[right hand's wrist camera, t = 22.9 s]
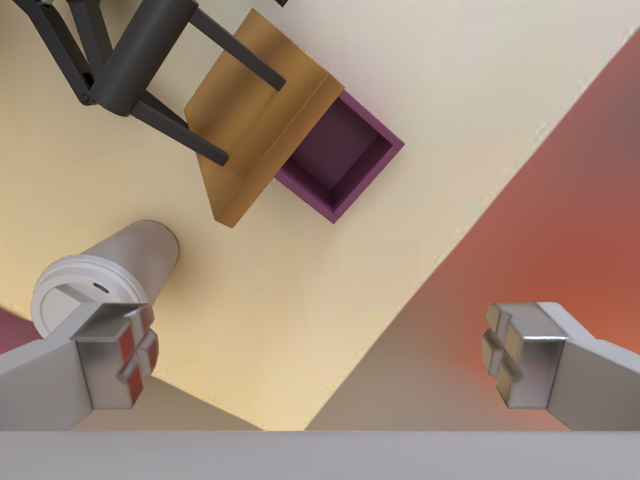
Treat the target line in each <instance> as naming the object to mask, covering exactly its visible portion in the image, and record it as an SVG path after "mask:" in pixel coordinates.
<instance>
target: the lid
mask: <svg viewBox="0 0 640 480" xmlns="http://www.w3.org/2000/svg"><path fill="white" fill-rule="evenodd" d="M198 6H199V4H198V3H197V2H196V1H195V0H143V1H142V3H141V4H140V6H139V8H138V10H137V11H136V13H135V15H134V16H133V18H132V20H131V21H130V23H129V25H128V27H127V28H126V30H125V32H124V33H123V35H122V37H121V38H120V40H119V42H118V44H117V45H116V47H115V49H114V50H113V52H112V54H111V55H110V57H109V59H108V61H107V62H106V64H105V66H104V67H103V69H102V71H101V72H100V74H99V76H98V77H97V79H96V81H95V83H94V84H93V86H92V88H91V89H90V91H89V93H90V96H91V97H92V98H93V99H94V100H95V101H96V102H97V103H98V104H99V105H101V106H102V107H104V108H105V109H107V110H108V111H110V112H112V113H114V114H117V115H119V116H123V117H127V116H129V115H130V114H131V115H132V116H134V117H136V118H138V119H139V120H141V121H143V122H145V123H146V124H148V125H150V126H152V127H153V128H155V129H157V130H159V131H160V132H162V133H164V134H166V135H167V136H169V137H171V138H173V139H174V140H176V141H178V142H180V143H181V144H183V145H185V146H187V147H188V148H190V149H192V150H194V151H195V152H196V155H197V159H198V162H199V166H200V169H201V173H202V177H203V180H204V184H205V187H206V191H207V194H208V198H209V202H210V205H211V209H212V212H213V216H214V219H215V221H218V222H220V223H222V224H224V225H226V226H228V227H230V228H233V227H234V226H235V225H236V223H237V222H238V221H239V220H240V218H241V217H242V216H243V215H244V213H245V212H246V211H247V210H248V208H249V207H250V206H251V205H252V203H253V202H254V201H255V200H256V198H257V197H258V196H259V195H260V193H261V192H262V191H263V190H264V188H265V187H266V186H267V185H268V183H269V182H270V181H271V180H272V178H273V177H274V176H275V175H276V173H277V172H278V171H279V170H280V168H281V167H282V166H283V165H284V163H285V162H286V161H287V160H288V158H289V157H290V156H291V155H292V153H293V152H294V151H295V150H296V148H297V147H298V146H299V145H300V143H301V142H302V141H303V140H304V138H305V137H306V136H307V135H308V133H309V132H310V131H311V130H312V128H313V127H314V126H315V125H316V123H317V122H318V121H319V120H320V118H321V117H322V116H323V115H324V113H325V112H326V111H327V110H328V108H329V107H330V106H331V105H332V103H333V102H334V101H335V100H336V98H337V97H338V96H339V95H340V93H341V92H342V91H343V90H344V88H345V87H344V86H343V85H342V84H341V83H340V82H339V81H338V80H337V79H336V78H334V77H333V76H332V75H331V74H330V73H329V72H328V71H327V70H325V69H324V68H323V67H322V66H321V65H320V64H318V63H317V62H316V61H315V60H314V59H312V58H311V57H310V56H309V55H308V54H307V53H305V52H304V51H303V50H302V49H301V48H300V47H298V46H297V45H296V44H295V43H294V42H293V41H291V40H290V39H289V38H288V37H287V36H285V35H284V34H283V33H282V32H281V31H280V30H278V29H277V28H276V27H275V26H274V25H273V24H271V23H270V22H269V21H268V20H267V19H265V18H264V17H263V16H262V15H261V14H260V13H258V12H257V11H256V10H255V9H254V8H252V9H251V11H250V12H249V14H248V15H247V17H246V18H245V20H244V21H243V23H242V24H241V26H240V27H239V28H238V30H237V31H236V33H235V34H234V36H233V35H231V34H230V33H229V32H228V31H226V30H225V29H224V28H223V27H222V26H220V25H219V24H218V23H217V22H215V21H214V20H213V19H212V18H211V17H209V16H208V15H207V14H206V13H204V12H203V11H202V10H201V9H200V8H198ZM188 22H190V23H191V24H193V25H194V26H195V27H196V28H198V29H199V30H200V31H202V32H203V33H204V34H205V35H207V36H208V37H209V38H210V39H212V40H213V41H214V42H216V43H217V44H218V45H219V46H221V47H222V48H223V49H224V51H223V52H222V54H221V55H220V57H219V58H218V59H217V61H216V62H215V64H214V65H213V67H212V68H211V70H210V71H209V73H208V74H207V76H206V77H205V79H204V80H203V82H202V83H201V85H200V86H199V88H198V89H197V90H196V92H195V93H194V95H193V96H192V98H191V99H190V101H189V102H188V104H187V105H186V107H185V108H184V112H185V116H186V119H187V123H188V127H189V130H188V129H187V128H185V127H183V126H182V125H180V124H178V123H177V122H175V121H173V120H172V119H170V118H168V117H167V116H165V115H164V114H162V113H160V112H159V111H157V110H155V109H154V108H152V107H150V106H149V105H147V104H145V103H144V102H142V101H140V100H139V99H140V97H141V96H142V94H143V93H144V91H145V90H146V88H147V86H148V85H149V83H150V82H151V80H152V78H153V77H154V75H155V74H156V72H157V71H158V69H159V67H160V66H161V64H162V63H163V61H164V60H165V58H166V56H167V55H168V53H169V52H170V50H171V49H172V47H173V45H174V44H175V42H176V41H177V39H178V38H179V36H180V34H181V33H182V31H183V30H184V28H185V27H186V25H187V23H188Z"/></svg>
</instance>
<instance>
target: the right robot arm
mask: <svg viewBox="0 0 640 480" xmlns="http://www.w3.org/2000/svg"><path fill="white" fill-rule="evenodd" d="M153 321H154V314H153V310H152V307H151V306H150V304H149V303H120V302H107V303H106V302H86V303H81V304H80V305H79V306H78V307H77V308H76V309H75V310H74V311H73V312H72V313H71V314H70V315H69V316H68V317H67V318H66V319H65V320H64V321H63V322H61V323H60V324H59V325H58V326H57V327H56V328H55V329H54V330H53V331H52V332H51V333H50V334H49V335H48V336H47V337H46V338H45V339H44V340H35V341H32V342H30V343H27V344H25V345H23V346H20V347H18V348H16V349H13V350H11V351H8V352H6V353H4V354H1V355H0V480H640V355H639V354H636V353H634V352H632V351H629V350H627V349H624V348H622V347H620V346H617V345H615V344H612V343H610V342H608V341H605V340H596V339H595V338H594V337H593V336H592V335H591V334H590V333H589V332H588V331H587V330H586V329H585V328H584V327H583V326H582V325H581V324H580V323H579V322H578V321H576V320H575V319H574V318H573V317H572V316H571V315H570V314H569V313H568V312H567V311H566V310H565V309H564V308H563V307H562V306H561V305H560V304H558V303H555V302H529V303H494V304H490V305H489V307H488V309H487V314H486V321H487V322H488V324H489V325H490V328H489V329H488V330H487V331H486V332H485V333H484V334H483V337H482V345H481V350H482V359H483V363H484V366H485V368H486V370H487V372H488V374H489V375H491V376H493V377H494V378H496V379H497V386H496V388H497V390H498V392H499V393H500V395H501V397H502V399H503V400H504V402H505V404H506V405H507V407H508V409H538V410H547V412H548V413H550V414H551V415H552V416H554V417H555V418H556V419H558V420H559V421H560V422H562V423H563V424H564V425H565V426H567V427H568V428H569V429H571V430H572V431H68V430H69V429H71V428H72V427H73V426H75V425H76V424H77V423H79V422H80V421H81V420H83V419H84V418H85V417H87V416H88V415H89V414H90V413H92V412H93V410H103V409H132V407H133V406H134V404H135V402H136V400H137V399H138V397H139V395H140V393H141V392H142V390H143V388H144V386H143V379H144V378H146V377H148V376H149V375H151V374H152V372H153V370H154V368H155V366H156V363H157V358H158V354H159V343H158V337H157V334H156V333H155V332H154V331H153V330H152V329H151V328H150V325H151V324H152V322H153Z"/></svg>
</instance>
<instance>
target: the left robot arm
mask: <svg viewBox="0 0 640 480" xmlns="http://www.w3.org/2000/svg"><path fill="white" fill-rule="evenodd" d="M13 1H14V2H15V3H16V4H17V5H18V6H19V7H20V8H21V9H22V10H23V11H24V12H25V13H26V14H27V15H28V16H29V17H30V19H31V21H32V22H33V24H34V26H35V27H36V29H37V31H38V32H39V34H40V36H41V37H42V39H43V41H44V42H45V44H46V46H47V47H48V49H49V51H50V52H51V54H52V56H53V58H54V59H55V61H56V63H57V64H58V66H59V68H60V69H61V71H62V73H63V74H64V76H65V78H66V79H67V81H68V83H69V84H70V86H71V88H72V89H73V91H74V93H75V94H76V96H77V98H78V99H79V101H80V102H81V103H82V104H83V105H86V106H89V105H96V104H98V103H97V102H96V101H95V100H94V99H93V98H92V97H91V96H90V93H89V91H90V89H91V88H92V86H93V84H94V83H95V81H96V79H97V77H98V76H99V74H100V72H101V71H102V69H103V67H104V66H105V64H106V62H107V61H108V59H109V57H110V55H111V54H112V52H113V49H112V46H111V42H110V39H109V36H108V33H107V30H106V26H105V23H104V20H103V17H102V13H101V10H100V7H99V4H100V0H66V1H67V2H68V4H69V6H70V9H71V12H72V15H73V18H74V21H75V24H76V27H77V30H78V33H79V36H80V39H81V42H82V45H83V48H84V51H85V54H86V57H87V60H88V62H87V61H86V59H85V57H84V55H83V54H82V52H81V50H80V48H79V47H78V45H77V43H76V41H75V40H74V38H73V36H72V34H71V33H70V31H69V29H68V27H67V26H66V24H65V22H64V20H63V19H62V17H61V16H60V14H59V13H58V11H57V10H56V9H55V7H54V6H53V5H52V4H51V3H52V2H53V0H13ZM275 1H276V2H277V3H278V4H279V5H281V6H282V7H283V6H284V5H285V4H286V2H287V1H288V0H275ZM88 63H89V64H88ZM139 100H140V101H142V102H144V103H145V104H147V105H149V106H150V107H152V108H154V109H155V110H157V111H159V112H160V113H162V114H164V115H165V116H167V117H168V118H170V119H172V120H173V121H175V122H177V123H178V124H180V125H182V126H183V127H185V128H187V129H188V130H189V127H188V124H187V123H186V122H185V121H184V120H183V119H181V118H180V117H179V116H178V115H176V114H175V113H174V112H173V111H171V110H170V109H169V108H168V107H166V106H165V105H164V104H163V103H162V102H160V101H159V100H158V99H157V98H155V97H154V96H153V95H152V94H150V93H149V92H148V91H147V90H145V91H144V93H143V94H142V96H141V97H140V99H139ZM135 118H136V117H135ZM137 119H138V118H137Z"/></svg>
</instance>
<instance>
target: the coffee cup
mask: <svg viewBox="0 0 640 480" xmlns="http://www.w3.org/2000/svg"><path fill="white" fill-rule="evenodd" d="M178 254H179V248H178V243H177V240H176V238H175V237H174V235H173V234H172V233H171V231H170V230H168V229H167V228H166V227H165V226H163V225H161V224H159V223H157V222H153V221H139V222H136V223H133V224H131V225H130V226H128V227H126V228H124V229H123V230H121V231H119V232H117V233H116V234H114V235H112V236H110V237H109V238H107V239H105V240H103V241H102V242H100V243H98V244H96V245H95V246H93V247H91V248H89V249H88V250H86V251H84V252H82V253H80V254H79V255H71V256H67V257H63V258H61V259H58V260H56V261H55V262H53V263H52V264H50V265H49V266H48V267H47V268H46V269H45V270H44V271H43V273H42V274H41V276H40V277H39V279H38V281H37V283H36V285H35V288H34V292H33V298H32V301H31V316H32V320H33V322H34V325H35V327H36V329H37V330H38V332H39V333H40V334H41V336H42V337H43V338H44V339H45V338H46V337H47V336H48V335H49V334H50V333H51V332H52V331H53V330H54V329H55V328H56V327H57V326H58V325H59V324H60V323H61V322H63V321H64V320H65V319H66V318H67V317H68V316H69V315H70V314H71V313H72V312H73V311H74V310H75V309H76V308H77V307H78V306H79V305H80V304H81V303H86V302H106V303H107V302H120V303H149V304H150V306H151V307H152V306H153V304H154V302H155V300H156V298H157V296H158V294H159V292H160V291H161V289H162V287H163V285H164V283H165V281H166V279H167V277H168V276H169V274H170V272H171V270H172V268H173V266H174V264H175V262H176V260H177V258H178Z"/></svg>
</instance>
